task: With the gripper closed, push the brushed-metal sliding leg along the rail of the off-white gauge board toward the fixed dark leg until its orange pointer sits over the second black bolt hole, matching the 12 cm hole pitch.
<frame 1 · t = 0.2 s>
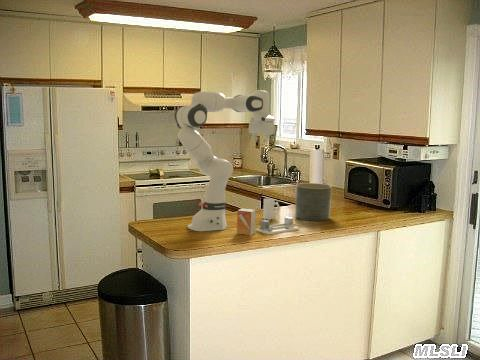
hand: (260, 141, 296), 48 cm above the worktop, fingers open, 8 cm apart
mug: (271, 219, 309), on the worktop
planter: (312, 217, 316), on the worktop
small box: (245, 233, 271), on the worktop
sliding leg: (291, 222, 284), point 4 cm above the worktop, slide at 0.0 cm
gauge board: (278, 230, 280), on the worktop
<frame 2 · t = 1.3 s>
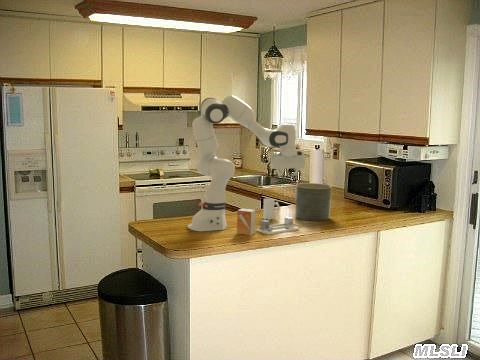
hand: (287, 176, 290), 29 cm above the worktop, fingers open, 8 cm apart
nothing on the worktop moved.
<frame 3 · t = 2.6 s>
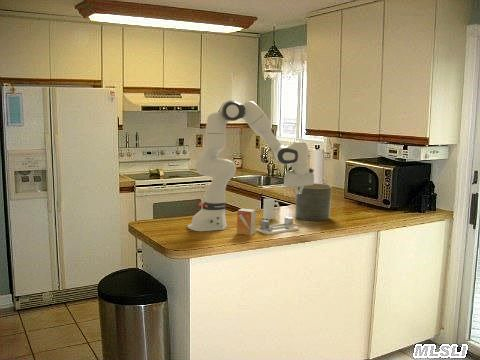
hand: (298, 193, 287), 19 cm above the worktop, fingers closed
nothing on the worktop moved.
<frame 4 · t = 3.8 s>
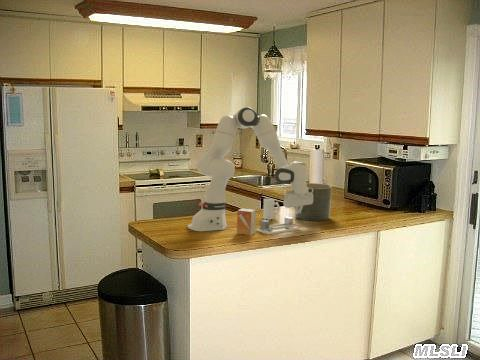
hand: (298, 213, 290), 8 cm above the worktop, fingers closed
nothing on the worktop moved.
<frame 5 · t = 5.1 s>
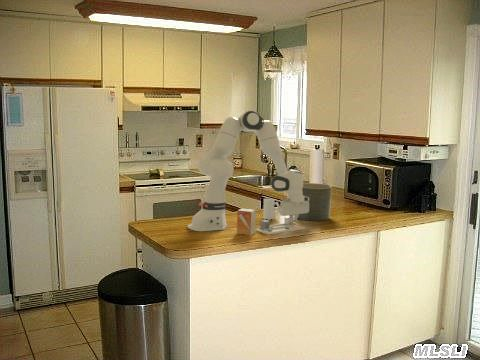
hand: (293, 222, 288), 3 cm above the worktop, fingers closed
sliding leg: (291, 222, 284), point 4 cm above the worktop, slide at 0.0 cm, touching gripper
everything else where it was.
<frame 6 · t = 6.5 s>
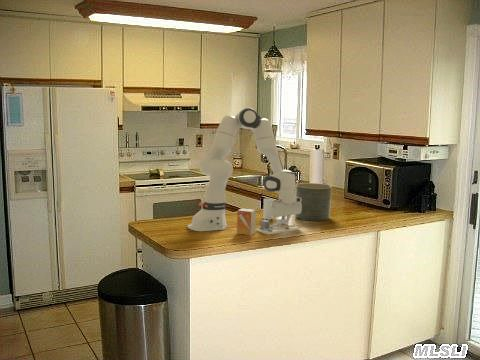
hand: (285, 222, 285), 3 cm above the worktop, fingers closed
sliding leg: (283, 223, 280), point 4 cm above the worktop, slide at 5.8 cm, touching gripper
everything else where it was.
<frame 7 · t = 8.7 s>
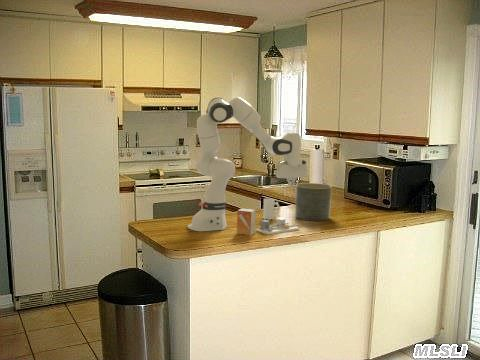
hand: (290, 185, 285), 24 cm above the worktop, fingers closed
sliding leg: (283, 223, 280), point 4 cm above the worktop, slide at 5.8 cm
everything else where it was.
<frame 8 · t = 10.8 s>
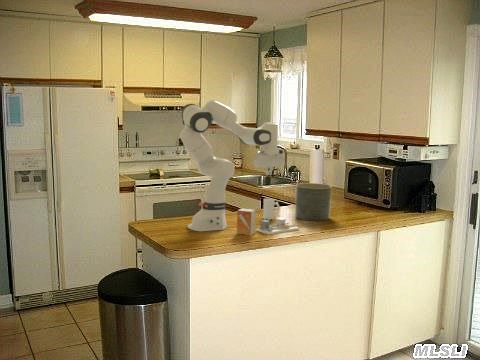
hand: (268, 174, 290), 29 cm above the worktop, fingers closed
nothing on the worktop moved.
at the end: sliding leg slide at 5.8 cm; sliding leg touching nothing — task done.
